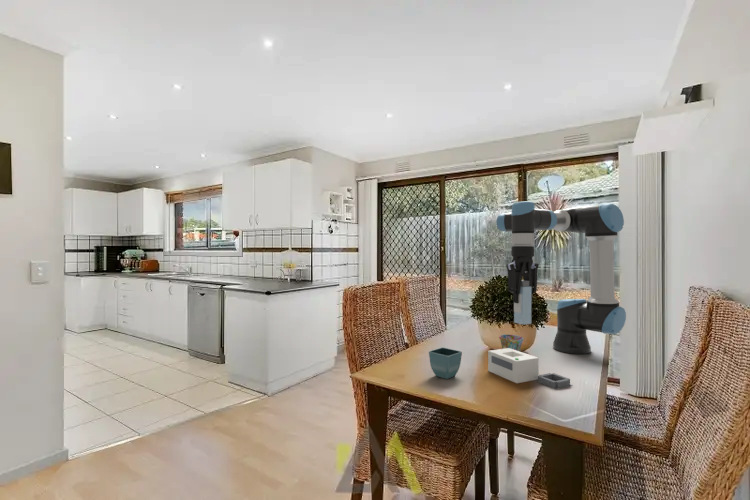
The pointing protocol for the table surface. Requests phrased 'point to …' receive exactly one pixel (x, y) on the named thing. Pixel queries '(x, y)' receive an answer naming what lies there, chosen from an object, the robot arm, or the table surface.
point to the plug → (524, 305)
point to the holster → (554, 380)
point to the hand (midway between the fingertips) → (522, 311)
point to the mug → (511, 341)
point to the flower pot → (445, 362)
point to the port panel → (513, 365)
